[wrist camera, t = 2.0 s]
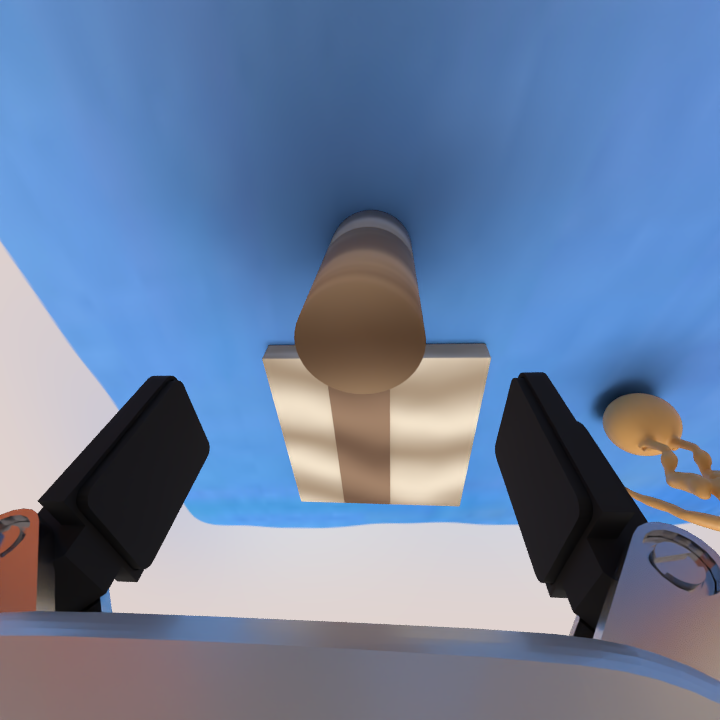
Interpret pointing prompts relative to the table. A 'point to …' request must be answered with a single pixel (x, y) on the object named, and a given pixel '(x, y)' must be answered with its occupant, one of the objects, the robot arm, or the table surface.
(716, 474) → the figurine
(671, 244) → the table surface
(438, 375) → the floor board
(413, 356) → the brown cylinder
